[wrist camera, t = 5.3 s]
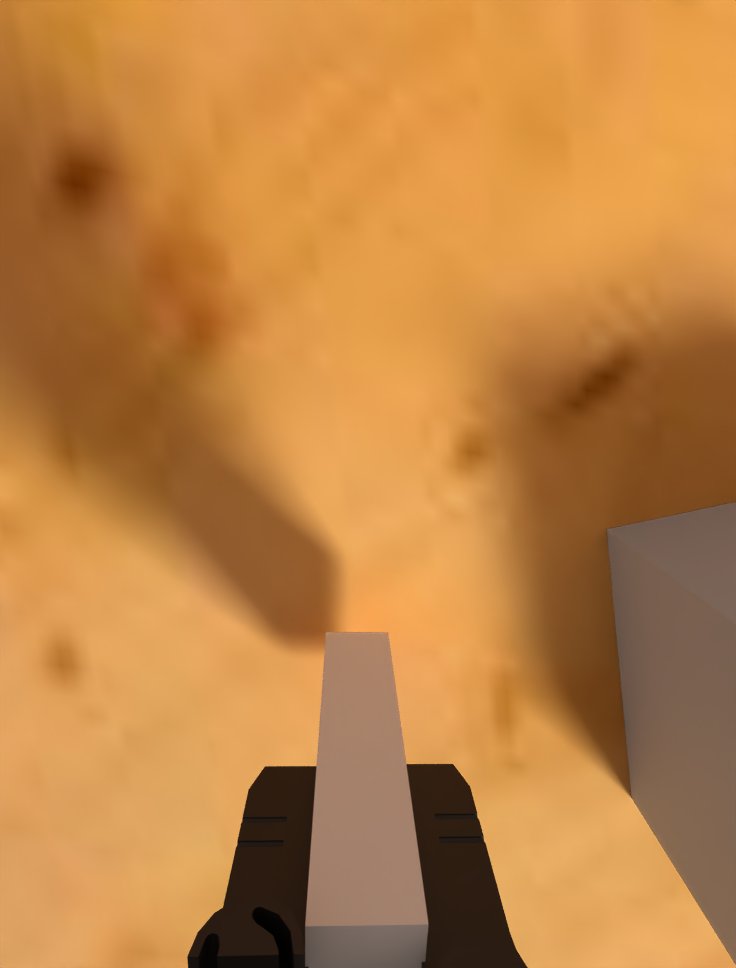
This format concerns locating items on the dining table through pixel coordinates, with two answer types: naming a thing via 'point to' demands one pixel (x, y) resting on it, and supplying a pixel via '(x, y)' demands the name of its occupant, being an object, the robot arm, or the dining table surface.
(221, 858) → the dining table surface
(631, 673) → the slate block
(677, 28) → the dining table surface
